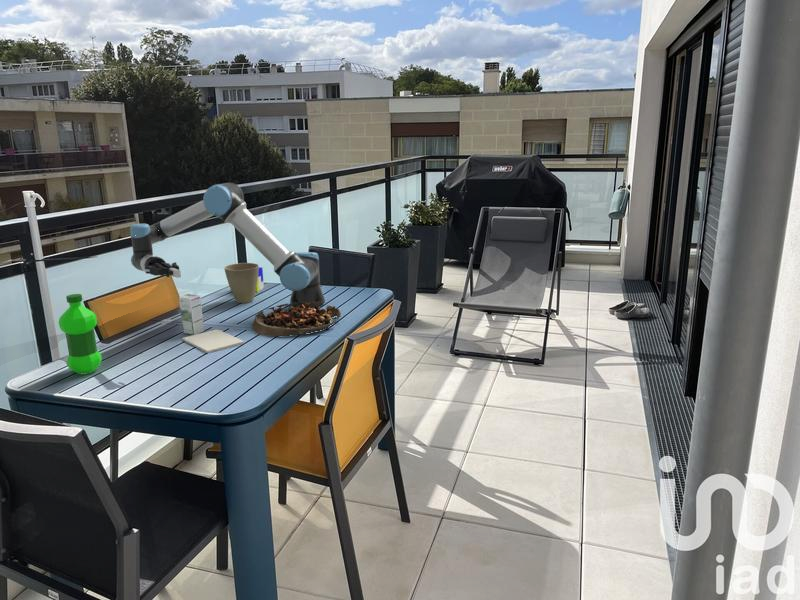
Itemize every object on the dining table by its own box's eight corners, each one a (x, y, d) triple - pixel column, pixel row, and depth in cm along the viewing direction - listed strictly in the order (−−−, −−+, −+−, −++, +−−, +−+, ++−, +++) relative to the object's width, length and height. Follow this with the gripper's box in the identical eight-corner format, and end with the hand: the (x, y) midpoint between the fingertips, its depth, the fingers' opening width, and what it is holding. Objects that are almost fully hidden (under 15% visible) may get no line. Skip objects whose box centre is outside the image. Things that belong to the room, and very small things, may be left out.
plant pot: (224, 299, 277) (221, 265, 273) (257, 295, 283) (254, 261, 279) (230, 307, 264) (227, 271, 260) (264, 302, 270) (262, 267, 266)
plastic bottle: (94, 363, 201) (82, 289, 194) (109, 370, 194) (98, 294, 188) (62, 372, 193) (49, 296, 187) (77, 380, 187) (64, 301, 180)
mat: (182, 340, 222) (182, 337, 222) (217, 331, 232) (217, 329, 231) (207, 353, 208) (207, 351, 208) (244, 343, 217) (244, 341, 217)
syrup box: (205, 331, 232) (201, 294, 228) (194, 335, 227) (189, 298, 223) (193, 329, 235) (189, 292, 231) (182, 333, 229) (178, 296, 226)
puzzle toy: (263, 287, 298) (262, 267, 296) (257, 292, 289) (255, 271, 286) (244, 287, 299) (242, 267, 297) (236, 292, 290) (235, 271, 287)
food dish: (329, 310, 261) (328, 293, 259) (351, 334, 231) (351, 314, 229) (245, 318, 249) (244, 299, 246) (257, 344, 219) (256, 323, 217)
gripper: (170, 271, 252) (196, 280, 236) (138, 276, 244) (162, 286, 227) (168, 253, 250) (194, 261, 234) (136, 258, 242) (160, 267, 225)
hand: (178, 274), depth 230 cm, fingers closed
